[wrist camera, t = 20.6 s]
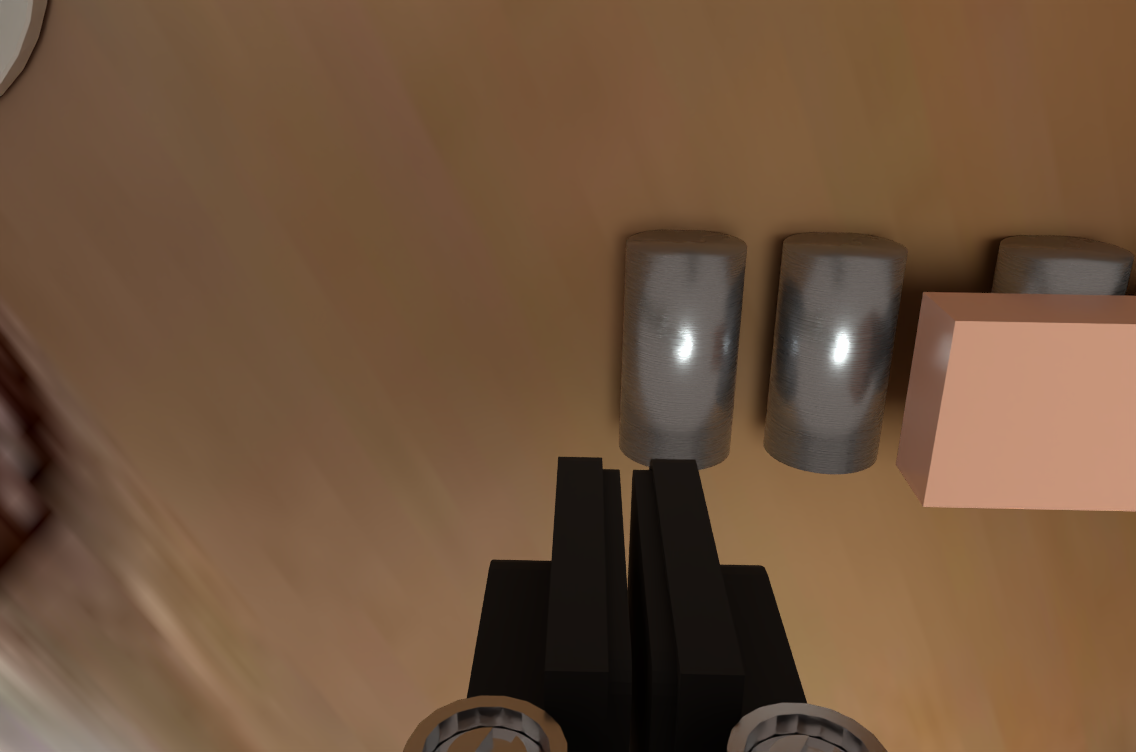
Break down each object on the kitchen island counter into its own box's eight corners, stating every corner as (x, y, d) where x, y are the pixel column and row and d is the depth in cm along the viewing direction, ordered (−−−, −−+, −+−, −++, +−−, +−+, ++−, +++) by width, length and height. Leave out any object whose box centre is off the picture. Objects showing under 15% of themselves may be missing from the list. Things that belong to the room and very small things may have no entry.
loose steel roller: (940, 435, 36) (1018, 485, 32) (974, 239, 33) (1063, 269, 29) (1027, 422, 37) (1111, 468, 33) (1066, 231, 34) (1163, 259, 30)
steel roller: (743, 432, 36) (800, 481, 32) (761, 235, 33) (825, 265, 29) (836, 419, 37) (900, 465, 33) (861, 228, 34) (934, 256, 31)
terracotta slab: (895, 464, 32) (923, 506, 29) (923, 292, 30) (955, 320, 27) (1198, 470, 32) (1252, 513, 29) (1249, 297, 29) (1312, 327, 27)
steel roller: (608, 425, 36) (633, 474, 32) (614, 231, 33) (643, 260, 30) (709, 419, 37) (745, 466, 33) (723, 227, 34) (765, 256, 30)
